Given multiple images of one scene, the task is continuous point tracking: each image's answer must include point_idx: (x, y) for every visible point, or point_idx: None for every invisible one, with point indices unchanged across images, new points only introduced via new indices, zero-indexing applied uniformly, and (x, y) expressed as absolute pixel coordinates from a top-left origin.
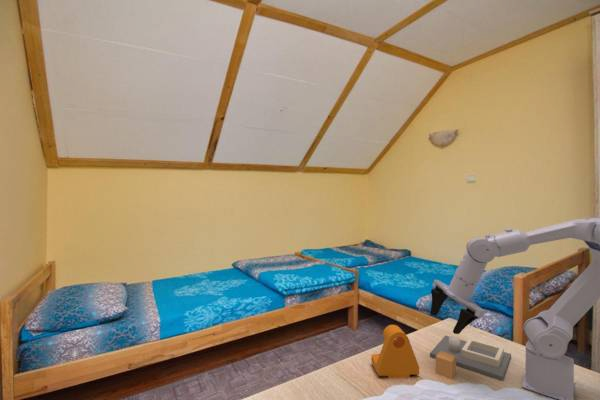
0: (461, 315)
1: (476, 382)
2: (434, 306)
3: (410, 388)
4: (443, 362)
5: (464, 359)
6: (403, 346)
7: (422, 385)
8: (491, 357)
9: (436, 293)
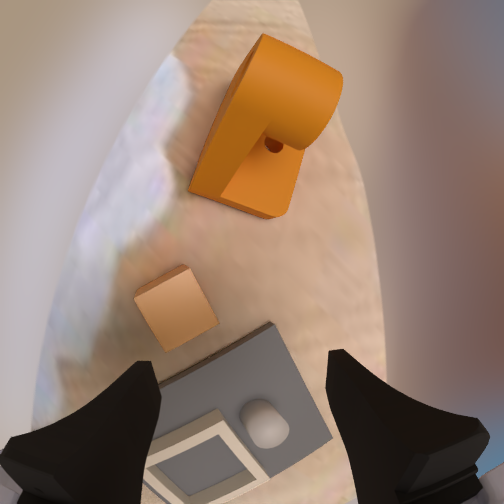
0: (69, 441)
1: (98, 345)
2: (354, 387)
3: (153, 126)
4: (162, 281)
5: (199, 403)
6: (229, 99)
7: (147, 168)
8: (149, 462)
9: (424, 450)
